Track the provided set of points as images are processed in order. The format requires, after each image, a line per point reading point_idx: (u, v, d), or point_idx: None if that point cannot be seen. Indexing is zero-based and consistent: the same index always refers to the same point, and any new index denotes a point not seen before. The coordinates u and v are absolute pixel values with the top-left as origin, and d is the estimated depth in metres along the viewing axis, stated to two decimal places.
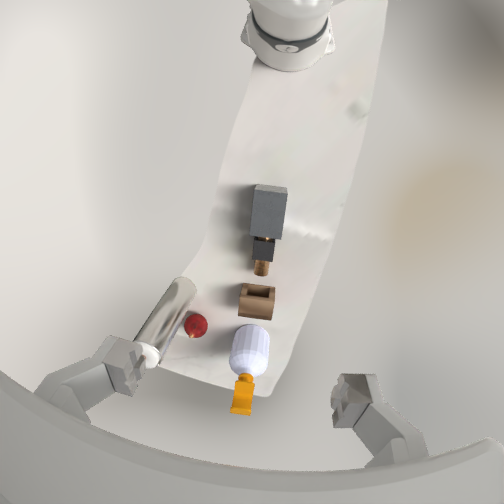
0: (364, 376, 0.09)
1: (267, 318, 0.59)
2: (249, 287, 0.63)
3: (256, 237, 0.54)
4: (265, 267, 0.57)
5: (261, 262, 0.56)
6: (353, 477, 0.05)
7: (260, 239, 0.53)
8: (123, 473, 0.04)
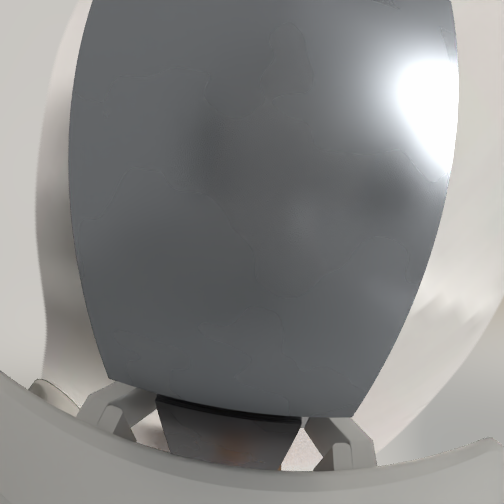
0: None
1: None
2: None
3: None
4: None
5: None
6: (353, 477, 0.05)
7: None
8: (123, 473, 0.04)
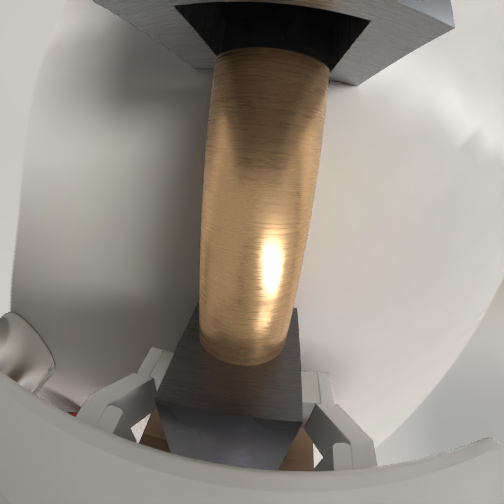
0: (316, 374, 0.09)
1: None
2: None
3: (180, 359, 0.08)
4: None
5: None
6: (353, 477, 0.05)
7: (201, 384, 0.07)
8: (123, 473, 0.04)
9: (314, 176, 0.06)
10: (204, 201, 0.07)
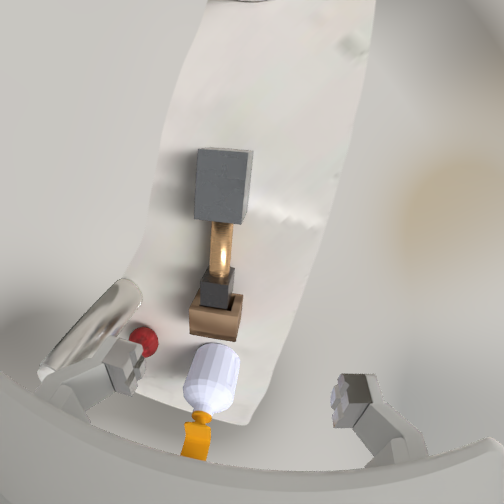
0: (364, 376, 0.09)
1: (230, 339, 0.41)
2: None
3: (205, 276, 0.39)
4: None
5: (215, 307, 0.42)
6: (353, 477, 0.05)
7: (209, 279, 0.39)
8: (123, 473, 0.04)
9: (230, 239, 0.38)
10: (211, 244, 0.38)
